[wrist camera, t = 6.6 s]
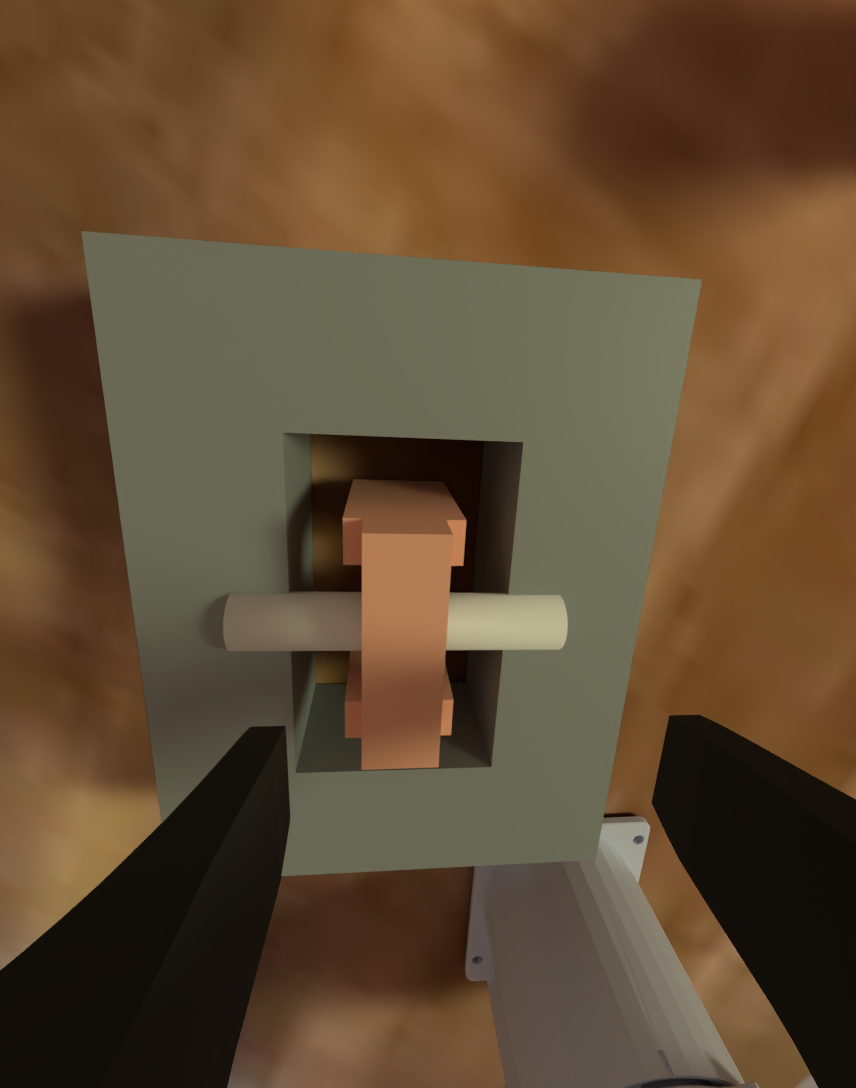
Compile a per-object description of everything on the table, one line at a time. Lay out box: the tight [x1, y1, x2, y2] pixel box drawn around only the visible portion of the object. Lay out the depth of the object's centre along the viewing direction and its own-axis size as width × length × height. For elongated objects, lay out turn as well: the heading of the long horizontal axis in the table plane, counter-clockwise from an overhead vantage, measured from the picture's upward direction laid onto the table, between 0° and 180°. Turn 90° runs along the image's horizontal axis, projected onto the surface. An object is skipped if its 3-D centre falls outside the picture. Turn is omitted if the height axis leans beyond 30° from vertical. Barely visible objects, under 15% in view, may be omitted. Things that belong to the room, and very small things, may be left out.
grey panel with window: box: [81, 231, 702, 876], centre depth 15 cm, size 18×14×6 cm
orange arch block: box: [343, 479, 467, 770], centre depth 14 cm, size 6×3×6 cm, turn 178°
